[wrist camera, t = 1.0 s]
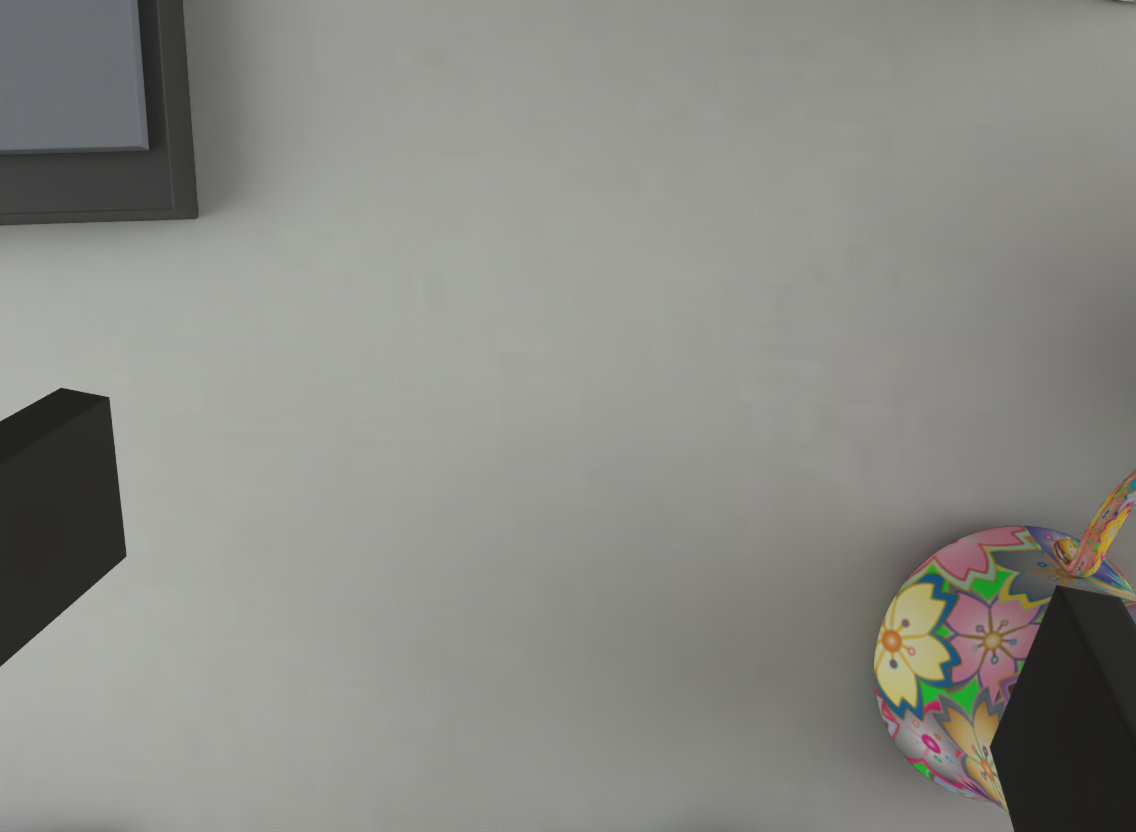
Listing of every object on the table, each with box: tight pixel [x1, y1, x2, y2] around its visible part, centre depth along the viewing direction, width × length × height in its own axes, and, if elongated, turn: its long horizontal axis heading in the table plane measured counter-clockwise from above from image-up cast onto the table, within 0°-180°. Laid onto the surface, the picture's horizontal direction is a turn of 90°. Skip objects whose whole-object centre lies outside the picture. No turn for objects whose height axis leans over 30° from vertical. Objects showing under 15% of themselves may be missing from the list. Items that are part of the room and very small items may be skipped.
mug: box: [874, 470, 1136, 816], centre depth 23 cm, size 12×9×11 cm
